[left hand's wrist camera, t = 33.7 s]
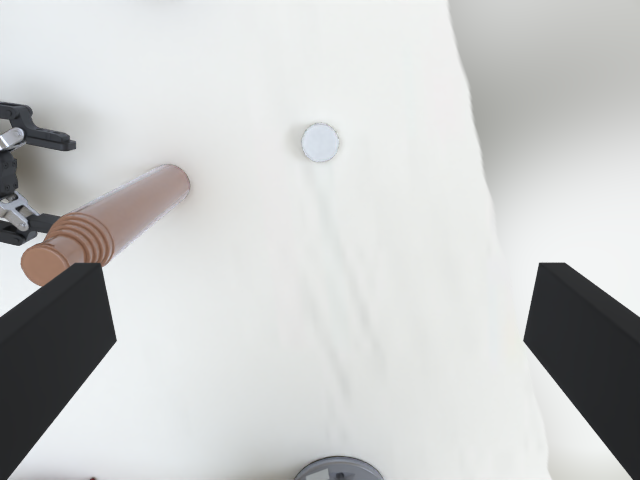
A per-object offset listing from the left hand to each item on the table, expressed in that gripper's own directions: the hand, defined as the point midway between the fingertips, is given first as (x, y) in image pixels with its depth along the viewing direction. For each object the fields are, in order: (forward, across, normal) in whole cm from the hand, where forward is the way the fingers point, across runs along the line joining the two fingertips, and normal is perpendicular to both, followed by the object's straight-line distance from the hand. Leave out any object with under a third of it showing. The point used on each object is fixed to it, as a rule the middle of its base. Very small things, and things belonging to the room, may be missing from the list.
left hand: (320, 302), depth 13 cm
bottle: (+37, +18, +5) cm, 42 cm away
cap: (+36, 0, 0) cm, 36 cm away
